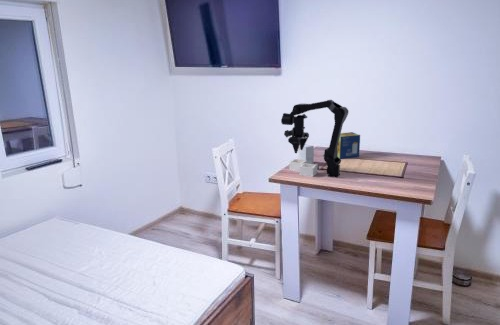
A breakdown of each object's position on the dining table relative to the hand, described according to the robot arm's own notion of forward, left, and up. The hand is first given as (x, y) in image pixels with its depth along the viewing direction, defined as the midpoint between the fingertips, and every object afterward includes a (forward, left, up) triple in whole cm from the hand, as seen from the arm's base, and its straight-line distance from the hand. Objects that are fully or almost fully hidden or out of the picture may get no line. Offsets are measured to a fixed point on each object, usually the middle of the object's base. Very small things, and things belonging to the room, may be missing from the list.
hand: (298, 151), depth 222 cm
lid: (-10, -4, -12) cm, 16 cm away
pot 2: (-9, +7, -12) cm, 16 cm away
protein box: (-17, -45, -12) cm, 49 cm away
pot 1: (0, 0, -12) cm, 12 cm away
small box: (0, -13, -12) cm, 18 cm away
